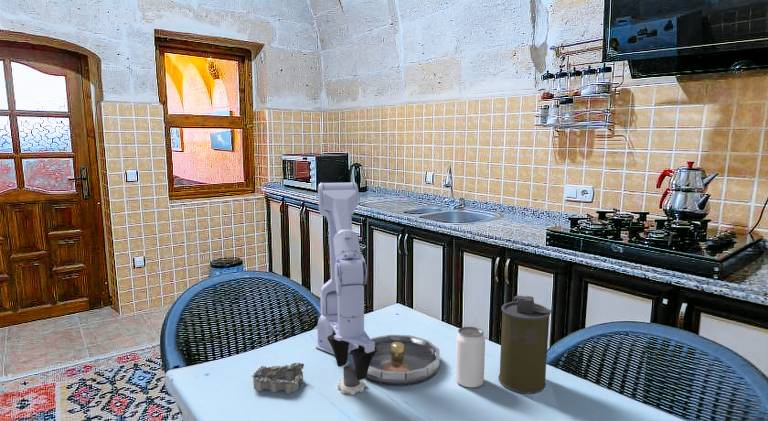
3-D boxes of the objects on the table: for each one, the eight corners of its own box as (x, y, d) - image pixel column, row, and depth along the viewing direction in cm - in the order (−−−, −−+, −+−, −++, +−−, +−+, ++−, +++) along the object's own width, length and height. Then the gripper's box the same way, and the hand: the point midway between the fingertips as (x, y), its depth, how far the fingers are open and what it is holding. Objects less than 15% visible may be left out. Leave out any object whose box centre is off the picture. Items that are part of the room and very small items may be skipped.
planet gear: (331, 388, 102) (331, 369, 102) (350, 377, 107) (350, 358, 107) (353, 397, 98) (353, 378, 98) (371, 385, 103) (371, 366, 103)
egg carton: (306, 379, 107) (306, 362, 106) (295, 396, 100) (294, 379, 99) (263, 374, 109) (263, 358, 108) (249, 391, 101) (248, 374, 101)
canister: (495, 388, 102) (498, 302, 99) (501, 367, 112) (504, 288, 109) (547, 398, 98) (552, 309, 95) (548, 375, 108) (553, 293, 105)
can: (483, 390, 102) (485, 338, 100) (454, 387, 103) (455, 336, 101) (483, 375, 108) (485, 327, 106) (455, 372, 109) (457, 324, 107)
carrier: (338, 368, 111) (337, 348, 111) (388, 338, 128) (388, 321, 127) (409, 395, 99) (409, 374, 99) (454, 359, 116) (454, 340, 115)
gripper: (317, 307, 103) (319, 364, 105) (354, 327, 92) (355, 391, 94) (344, 301, 108) (344, 355, 110) (382, 319, 96) (382, 380, 98)
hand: (351, 371), depth 102 cm, fingers open, 7 cm apart
